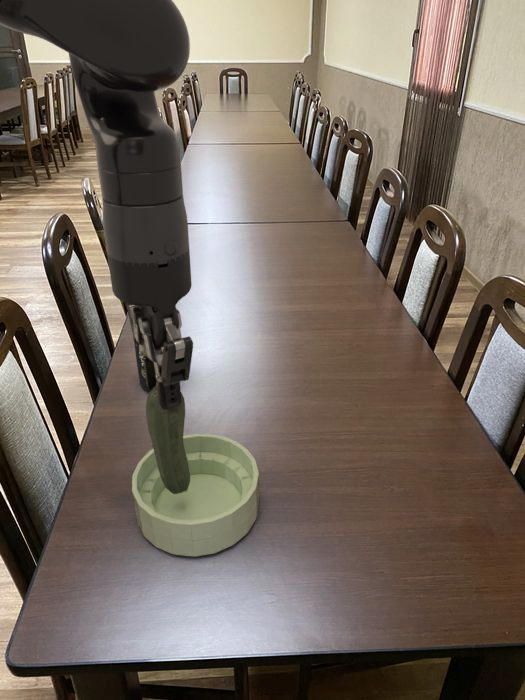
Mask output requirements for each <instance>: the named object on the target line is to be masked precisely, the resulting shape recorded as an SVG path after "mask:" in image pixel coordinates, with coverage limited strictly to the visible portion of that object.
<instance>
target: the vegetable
mask: <svg viewBox="0 0 525 700" xmlns="http://www.w3.org/2000/svg"><path fill="white" fill-rule="evenodd" d="M145 415H146V423H147V429H148V430H147V431H148V434H149V437H150V441H151V444H152V449H154V453H155V457H156V461H157V466H158V470H159V473H160V477H161V479H162V481H163V483H164V485H165V487H166V488H167V489H168V490H169V491H170V492H171V493H173V494H179V493H182V492H187V489H188V487H189V484H190V472H189V465H188V460H187V456H186V453H185V449H184V442H183V435H184V432H185V431H184V430H185V419H186V400H185V397H184V395H183V393H182V392H181V404H180V405H179V406H176V407H173V408H170V409H166V410H164V409H162V407H161V406H160V404H159V396H158V387H157V385H156V386H155V387H154V388H153V389H152V390H151V391H150V392H149V393H148V395H147V398H146V404H145Z"/></svg>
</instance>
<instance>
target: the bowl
mask: <svg viewBox="0 0 525 700" xmlns="http://www.w3.org/2000/svg"><path fill="white" fill-rule="evenodd" d="M183 442H184V449H185V453H186V456H187V460H188V465H189V472H190V484H189V487H188V489H187V492H182V493H179V494H173V493H171V492H170V491H169V490H168V489H167V488H166V487H165V485H164V483H163V481H162V479H161V477H160V473H159V470H158V466H157V461H156V457H155V453H154V449H153V448H152V449H150V450H149V451H148V452H147V453H146V454H145V455H143V457H142V458H141V459H140V460H139V461H138V463H137V464H136V467H135V470H134V471H133V473H132V476H131V492H132V498H133V504H134V510H135V517H136V522H137V524H138V526H139V529H140V531H141V533H142V535H143V537H145V538H146V539H147V540H148V541H149V542H150V543H151V544H152V545H153V546H154V547H155V548H157V549H160V550H162V551H165V552H167V553H169V554H171V555H174V556H185V557H193V558H194V557H201V556H206V555H207V556H208V555H213V554H216V553H219V552H221V551H223V550H226V549H227V548H230V547H232V546H234V545H235V544H236V543H237V542H239V541H240V540H241V539H243V537H245V536H246V535H247V534H248V533H249V532H250V530H251V528H252V527H253V525H254V523H255V522H256V520H257V518H258V511H259V506H260V493H259V492H260V472H259V469H258V464H257V461H256V459H255V457H254V456H253V455H252V453H250V451H249V450H248V448H246V447H245V446H243V445H242V444H241V443H239V442H237V441H236V440H234V439H231V438H228V437H225V436H222V435H219V434H210V433H193V434H185V435H184V434H183Z"/></svg>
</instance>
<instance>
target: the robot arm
mask: <svg viewBox="0 0 525 700" xmlns="http://www.w3.org/2000/svg"><path fill="white" fill-rule="evenodd" d="M0 26H2V27H5V28H7V29H9V30H12V31H14V32H18V33H20V34H24V35H29V36H32V37H36V38H39V39H42V40H44V41H46V42H48V43H50V44H51V45H54V46H56V47H58V48H59V49H60V50H63V51H65V52H67V53H68V58H69V63H70V68H71V72H72V75H73V80H74V83H75V87H76V91H77V93H78V96H79V101H80V103H81V106H82V109H83V113H84V116H85V119H86V123H87V125H88V127H89V130H90V132H91V134H92V138H93V142H94V145H95V154H96V155H95V156H96V157H95V158H96V166H97V171H98V179H99V186H100V191H101V202H102V227H103V234H104V235H103V236H104V242H105V249H106V255H107V262H108V269H109V276H110V282H111V289H112V293H113V295H114V297H116V299H117V300H119V301H121V302H123V303H124V304H125V306H126V310H127V315H128V319H129V324H130V329H131V333H132V338H133V337H134V339H132V340H133V344H134V343H135V344H136V346H139V350H140V351H139V354H140V356H141V357H142V359H143V361H144V369H145V377H146V384H147V386H148V388H149V389H153V388H154V387H155V386H156V385H157V387H158V396H159V404H160V406H161V407H162V409H164V410H166V409H170V408H173V407H176V406H179V405H180V404H181V393H182V391H181V382H185V381H189V379H190V373H191V365H192V359H193V352H194V350H193V349H194V341H193V339H192V338H191V336H189V335H188V336H185V337H182V332H181V328H182V326H183V321H182V316H181V313H180V311H179V309H177V304H178V303H179V301H180V300H182V299H183V298H184V297H186V296H187V295H188V294H189V292H190V291H191V289H192V269H191V254H190V253H191V252H190V237H189V224H188V215H187V214H188V213H187V210H186V209H187V208H186V206H185V205H186V204H185V200H184V194H183V193H184V188H183V171H182V159H181V157H182V156H181V150H180V149H181V148H180V143H179V139H178V136H177V134H176V132H175V130H174V129H173V128H172V127H171V126H169V124H168V123H166V122H165V120H164V119H163V117H162V116H161V114H160V112H159V111H160V110H159V107H158V103H157V98H156V97H157V96H156V93H155V92H159V91H162V90H165V89H167V88H169V87H170V86H172V85H174V84H175V83H176V82H177V81H178V80H179V79H180V78H181V76H183V73H184V72H185V70H186V68H187V65H188V62H189V58H190V55H191V54H190V53H191V41H190V40H191V39H190V34H189V30H188V27H187V23H186V21H185V19H184V16H183V14H182V13H181V10H180V9H179V8H178V6H177V4H176V3H175V2H174V0H0ZM144 358H145V359H144Z"/></svg>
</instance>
